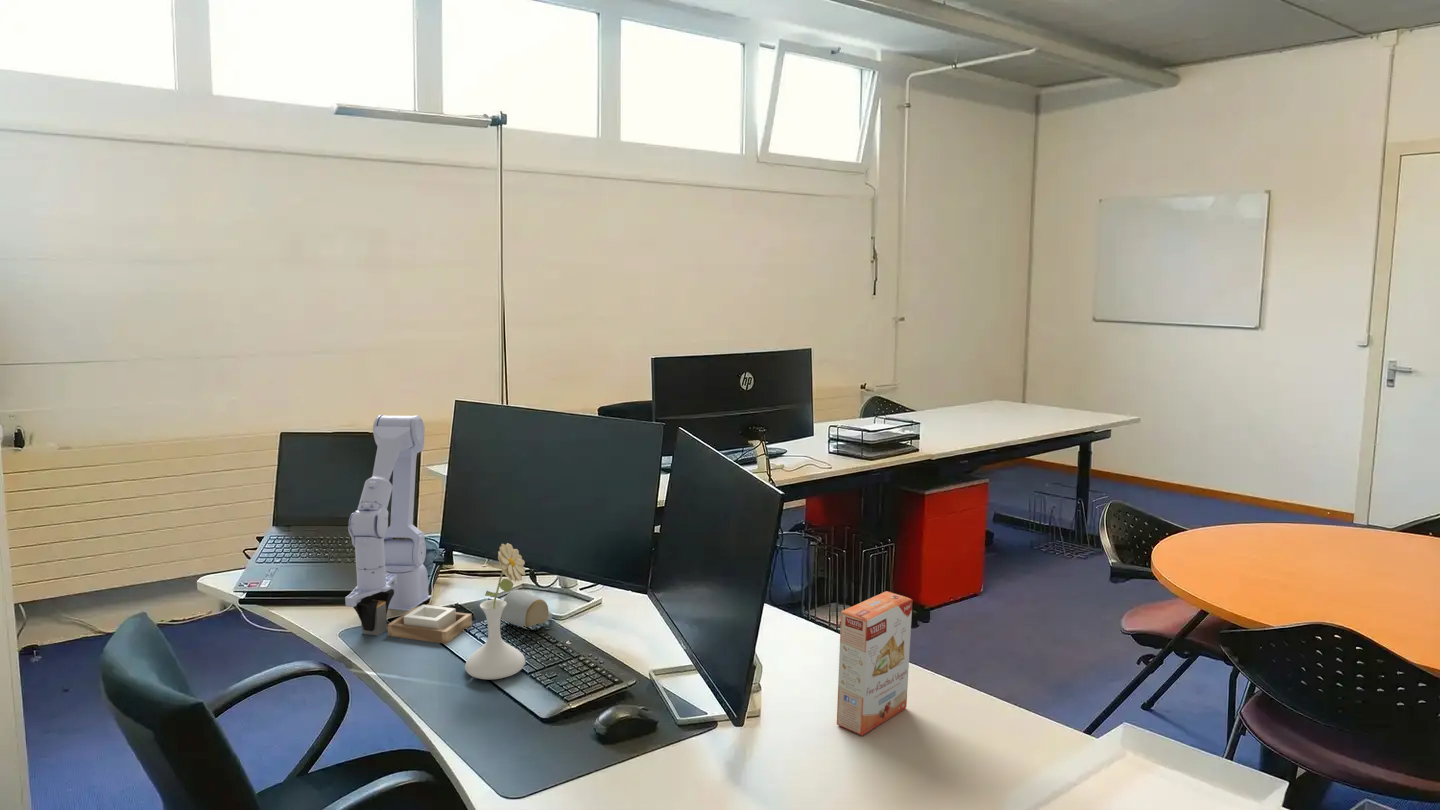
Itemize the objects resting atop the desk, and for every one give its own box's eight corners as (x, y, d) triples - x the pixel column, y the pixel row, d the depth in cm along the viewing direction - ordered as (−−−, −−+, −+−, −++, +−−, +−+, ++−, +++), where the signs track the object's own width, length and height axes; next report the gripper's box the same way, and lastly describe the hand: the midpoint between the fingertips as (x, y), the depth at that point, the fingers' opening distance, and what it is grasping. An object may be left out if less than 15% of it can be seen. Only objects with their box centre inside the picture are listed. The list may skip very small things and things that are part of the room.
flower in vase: (493, 691, 166) (488, 561, 162) (452, 675, 172) (447, 550, 168) (544, 665, 176) (540, 543, 172) (503, 651, 183) (499, 533, 179)
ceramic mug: (527, 637, 189) (527, 602, 188) (499, 628, 194) (499, 594, 193) (561, 621, 198) (561, 588, 197) (534, 613, 203) (534, 581, 202)
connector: (371, 630, 193) (369, 599, 192) (387, 632, 192) (385, 601, 191) (362, 635, 190) (360, 604, 189) (378, 637, 189) (376, 606, 188)
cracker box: (864, 738, 150) (868, 620, 147) (835, 725, 154) (838, 610, 151) (909, 709, 160) (914, 597, 157) (881, 697, 164) (885, 588, 161)
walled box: (416, 619, 198) (415, 607, 198) (472, 627, 195) (471, 614, 194) (388, 637, 189) (387, 624, 188) (446, 645, 185) (445, 632, 185)
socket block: (423, 621, 196) (423, 604, 195) (456, 626, 194) (455, 608, 193) (404, 634, 189) (403, 616, 189) (437, 638, 187) (437, 620, 187)
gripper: (364, 578, 180) (368, 642, 183) (408, 556, 194) (411, 616, 196) (335, 575, 182) (339, 638, 184) (380, 553, 196) (383, 612, 198)
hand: (374, 626), depth 190 cm, fingers open, 3 cm apart
